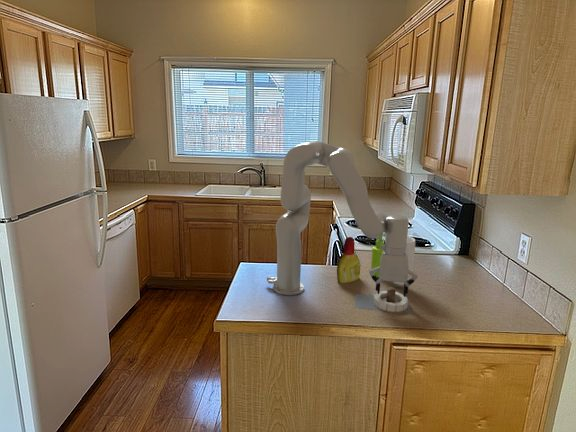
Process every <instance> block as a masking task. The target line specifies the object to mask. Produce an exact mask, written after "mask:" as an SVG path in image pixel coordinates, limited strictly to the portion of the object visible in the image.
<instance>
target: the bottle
mask: <svg viewBox="0 0 576 432" xmlns="http://www.w3.org/2000/svg"><path fill="white" fill-rule="evenodd" d="M360 274H361V263H360V259H359V257H358V256H357V254H356V253H355V238H353V237H352V236H348V237H346V238H345V239H344V243H343V252H342V256H341V257H340V258H339V259H338V262H337V266H336V280H337V282H338V283H339V284H346V283H351V282H356V281H358V280H359V279H360Z"/></svg>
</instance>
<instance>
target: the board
mask: <svg viewBox="0 0 576 432" xmlns="http://www.w3.org/2000/svg"><path fill="white" fill-rule="evenodd" d="M374 295H375V294H365V293H355V300H354V308H356V309H365V310H374V311H383V312H388V311H387V310H386V311H385V310H382V309H380V308H378V307H377V306H375V305H374ZM407 299H408V306H407V308H406V309H405V310H404V311H399V312H398V313H399V314H400V313H401V314H410V315H411V314H412V311H411V306H410V305H411V304H410V300H409V298H407ZM389 312H390V313H391V311H389ZM394 313H397V312H396V311H395V312H394Z"/></svg>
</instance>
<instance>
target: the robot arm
mask: <svg viewBox="0 0 576 432" xmlns="http://www.w3.org/2000/svg"><path fill="white" fill-rule="evenodd" d="M316 164H317V165H321V166H325V167H327V168H328V170H329V172H330V173H331V175H332V177H333V178H334V180H335V182H336V183H337V185H338V187H339V188H340V190H341V192H342V194H343V195H344V198H345V201H346V204H347V206H348V208H349V210H350V213H351V215H352V217H353V220H354V221H355V222H356V225H357V226H358V227H359V230H360V231H361V232H362V233H363V235H364V236H365V237H366V238H369V239H373V240H375V239H376V240H377V239H378V237H380V236H381V235H382V234H383V233H385V234H386V236H384V246H381V248H380V249H382V250H384V251H383V252H382V255H381V260H380V266H379V267H376V268H374V269H372V270H371V269H370V270H369V271H368V273H369V275H371V276H370V277H371V279H372V281H374V282H375V291H376V293H378V294H380V291H381V282H382V281H384V282H385V281H386V282H393V283H394V282H404V284H403V288H402V294H403V296H404V297H407V295H408V294H409V287H410V286H411V285H412V284H413V283H414V282H415V281H416V280H417V279H418V274H417V273H416V272H414V271H412V270H411V271H410V270H409V269H408V255H407V253H406V245H407V236H408V234H409V219H408V218H407V217H406V216H404V215H396V214H394V215H391V214H387V213H383V212H379V211H377V212H375V210H374V208H373V206H372V205H371V202H370V199H369V195H368V187H367V184H366V181H365V180H364V179H363V177H362V176H361V174H360V172H359V171H358V169H357V167H356V165H355V156H354V154H353V152H352V151H351V150H348V149H347V148H343V147H339V146H336V145H334V144H329V143H327V142H323V141H318V140H312V141H307V142H303V143H299V144H297V145H295V146H293V147H292V148H291V149H289V150H288V151H287V153H286V155H285V156H284V160H283V164H282V165H283V166H282V178H281V188H280V189H281V190H280V204H281V206H282V208H283V209H284V210H286V212H285V213H284V214H282V215H281V216H280V217H279V218H278V219H277V221H276V224H275V235H276V276H274V277H272V276H267V277H266V282H268V284H270V285H271V284H273V285H272V289H273V292H275V293H277V294H278V295H283V296H296V295H299V294H301V293H302V292H304V290H305V286H304V284H303V283H302V282H301V271H302V268H301V266H302V242H301V232H303V231H304V230H305V229H306V228H307V226H308V224H309V221H310V213H311V212H310V210H311V200H312V199H311V198H312V196H311V190H310V188H309V186H307V185H306V184H305V180H306V171H305V169H306V168H307V167H309V166H313V165H316ZM378 271H379V276H378V277H376V276H375V275H374V273H375V272H378ZM408 274H409V276H410V278H409V276H408Z"/></svg>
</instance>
